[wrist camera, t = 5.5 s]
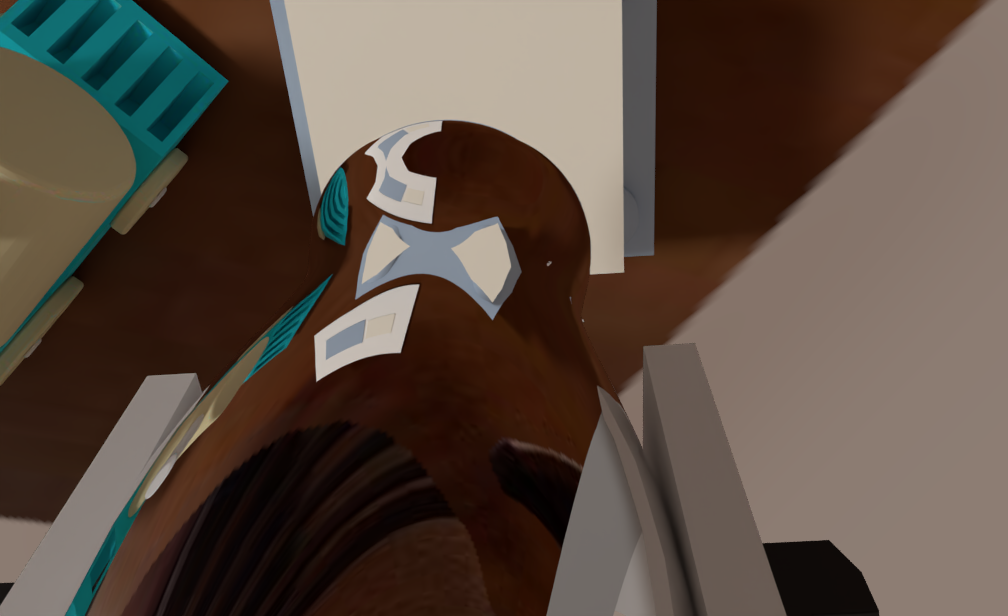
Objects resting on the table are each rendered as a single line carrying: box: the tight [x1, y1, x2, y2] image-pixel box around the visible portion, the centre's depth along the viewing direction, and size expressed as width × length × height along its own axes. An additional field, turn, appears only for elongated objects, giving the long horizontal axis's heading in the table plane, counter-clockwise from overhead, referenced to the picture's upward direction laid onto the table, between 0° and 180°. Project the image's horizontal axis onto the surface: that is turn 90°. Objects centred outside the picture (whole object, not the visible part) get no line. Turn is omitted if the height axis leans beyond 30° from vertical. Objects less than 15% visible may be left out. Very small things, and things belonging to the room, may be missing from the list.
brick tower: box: [270, 0, 657, 274], centre depth 29 cm, size 12×12×8 cm
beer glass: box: [59, 119, 696, 616], centre depth 13 cm, size 7×7×15 cm
